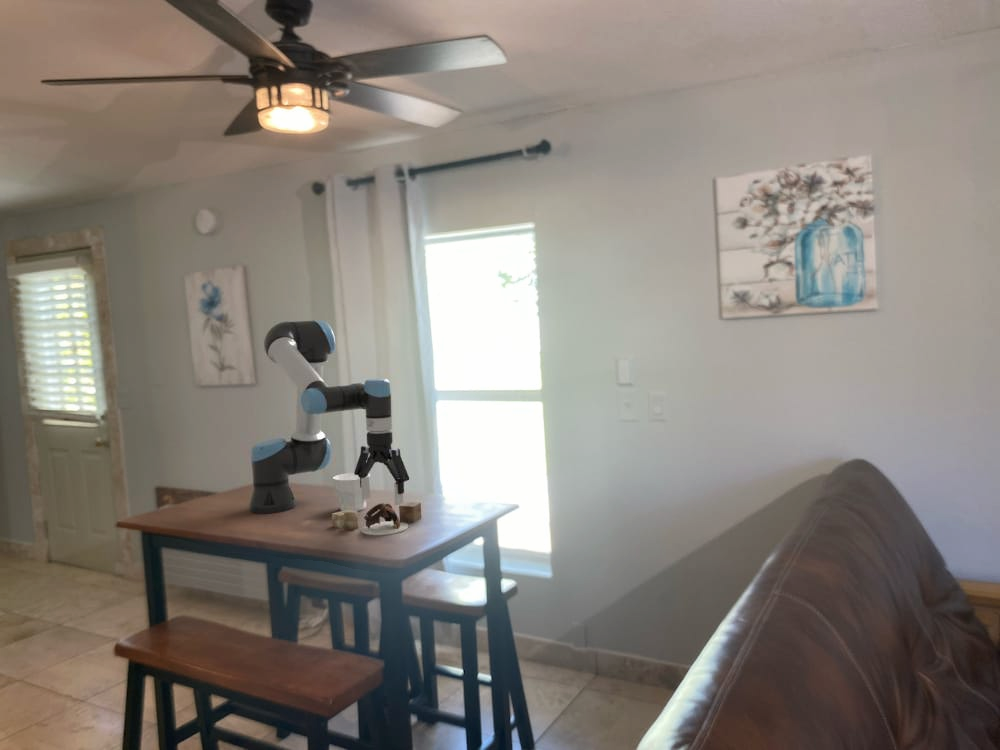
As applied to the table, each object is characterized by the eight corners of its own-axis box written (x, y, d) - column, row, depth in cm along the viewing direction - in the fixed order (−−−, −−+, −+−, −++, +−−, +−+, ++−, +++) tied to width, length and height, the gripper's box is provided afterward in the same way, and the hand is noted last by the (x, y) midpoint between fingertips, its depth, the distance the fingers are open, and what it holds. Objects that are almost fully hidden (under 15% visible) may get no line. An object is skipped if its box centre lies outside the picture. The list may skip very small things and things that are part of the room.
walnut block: (399, 521, 226) (398, 505, 225) (407, 517, 230) (406, 501, 230) (414, 522, 224) (413, 506, 224) (421, 518, 229) (420, 502, 228)
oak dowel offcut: (342, 529, 220) (341, 512, 220) (351, 525, 223) (350, 509, 223) (351, 530, 218) (350, 514, 217) (361, 527, 221) (360, 511, 221)
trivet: (351, 531, 216) (351, 530, 216) (384, 520, 228) (384, 519, 228) (385, 537, 208) (385, 536, 208) (418, 525, 220) (418, 524, 220)
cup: (346, 515, 237) (344, 481, 236) (327, 509, 246) (325, 477, 245) (379, 507, 245) (377, 475, 244) (360, 502, 254) (358, 471, 253)
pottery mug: (399, 532, 213) (384, 511, 211) (373, 546, 215) (357, 525, 213) (406, 512, 224) (391, 491, 222) (381, 525, 226) (366, 505, 224)
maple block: (332, 526, 224) (332, 513, 224) (349, 522, 228) (348, 509, 228) (340, 528, 221) (339, 515, 221) (356, 524, 225) (355, 511, 225)
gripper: (340, 430, 220) (343, 499, 222) (401, 436, 206) (404, 509, 208) (358, 426, 226) (361, 493, 228) (419, 432, 212) (422, 503, 214)
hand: (382, 501), depth 218 cm, fingers open, 13 cm apart
